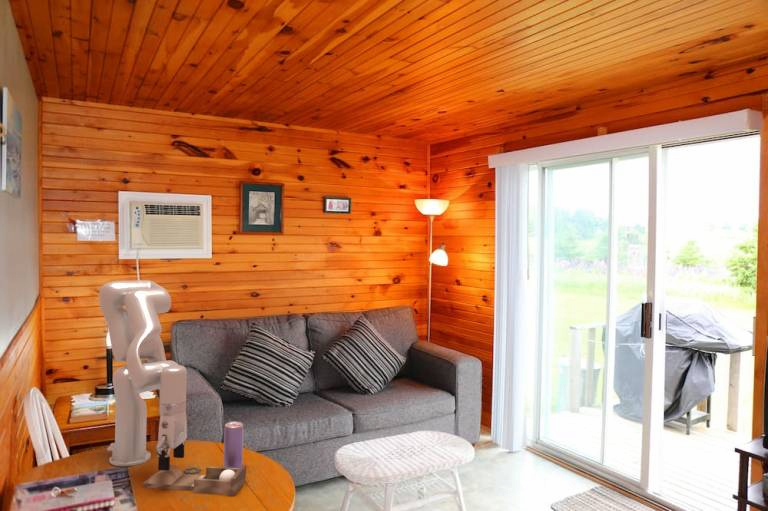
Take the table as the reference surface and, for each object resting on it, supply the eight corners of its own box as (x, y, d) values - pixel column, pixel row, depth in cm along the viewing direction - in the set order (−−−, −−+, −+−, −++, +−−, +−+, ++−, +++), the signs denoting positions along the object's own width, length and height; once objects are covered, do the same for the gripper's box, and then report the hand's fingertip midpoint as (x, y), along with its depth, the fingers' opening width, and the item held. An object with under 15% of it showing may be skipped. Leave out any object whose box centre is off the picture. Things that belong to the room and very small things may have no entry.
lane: (140, 503, 168) (141, 472, 168) (157, 488, 178) (157, 459, 178) (234, 509, 166) (234, 478, 165) (245, 494, 176) (246, 465, 175)
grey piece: (188, 476, 178) (188, 474, 178) (182, 471, 182) (182, 469, 182) (202, 472, 181) (202, 470, 181) (196, 467, 185) (196, 466, 185)
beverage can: (237, 475, 180) (238, 428, 180) (219, 473, 181) (220, 426, 181) (245, 468, 186) (246, 422, 185) (228, 466, 187) (229, 420, 187)
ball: (214, 474, 169) (229, 468, 169) (221, 471, 174) (236, 466, 174) (218, 491, 168) (233, 485, 167) (226, 488, 173) (241, 482, 172)
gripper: (171, 416, 163) (170, 476, 163) (196, 400, 180) (195, 453, 180) (146, 415, 163) (145, 474, 164) (173, 398, 181) (172, 452, 181)
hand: (171, 463), depth 172 cm, fingers open, 9 cm apart
